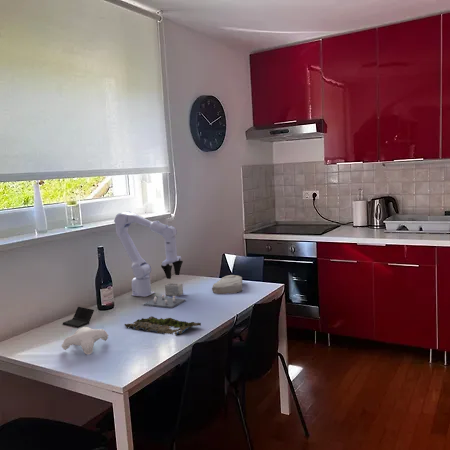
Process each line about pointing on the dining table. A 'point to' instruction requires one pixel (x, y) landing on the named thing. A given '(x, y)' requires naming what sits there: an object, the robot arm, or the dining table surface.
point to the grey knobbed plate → (164, 302)
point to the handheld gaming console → (80, 317)
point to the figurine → (85, 339)
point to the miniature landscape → (162, 325)
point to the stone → (228, 285)
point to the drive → (174, 289)
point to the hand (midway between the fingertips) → (173, 276)
